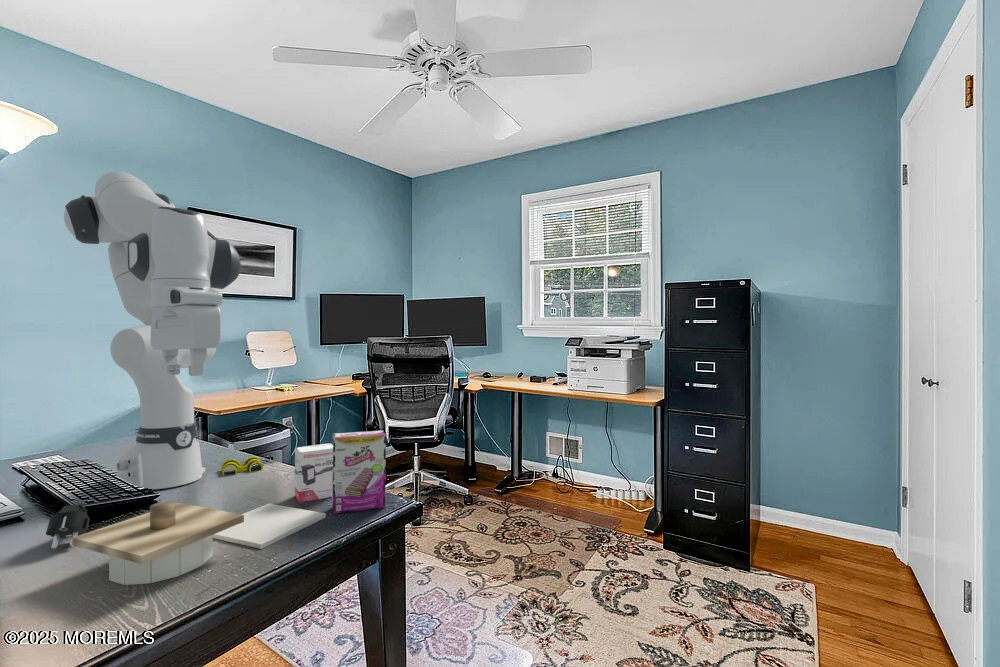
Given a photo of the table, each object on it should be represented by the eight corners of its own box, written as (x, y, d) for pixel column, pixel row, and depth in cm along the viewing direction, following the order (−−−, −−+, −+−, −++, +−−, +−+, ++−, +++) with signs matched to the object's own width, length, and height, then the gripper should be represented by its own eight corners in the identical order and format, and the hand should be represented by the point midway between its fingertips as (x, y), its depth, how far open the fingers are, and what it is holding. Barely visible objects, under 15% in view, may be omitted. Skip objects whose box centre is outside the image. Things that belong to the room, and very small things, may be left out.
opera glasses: (222, 483, 125) (222, 463, 125) (220, 478, 130) (220, 459, 130) (263, 476, 131) (263, 458, 131) (260, 472, 135) (260, 454, 135)
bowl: (89, 574, 77) (89, 542, 77) (176, 539, 90) (176, 512, 90) (145, 591, 72) (145, 558, 72) (230, 552, 85) (230, 523, 85)
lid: (72, 545, 76) (72, 515, 76) (179, 509, 92) (179, 484, 92) (141, 564, 70) (141, 531, 70) (243, 521, 86) (243, 495, 86)
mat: (199, 535, 92) (199, 530, 92) (268, 507, 107) (268, 503, 107) (261, 548, 86) (261, 544, 86) (325, 517, 101) (325, 513, 101)
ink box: (299, 504, 109) (298, 451, 109) (294, 497, 113) (294, 447, 113) (337, 496, 114) (337, 446, 114) (332, 491, 118) (331, 442, 118)
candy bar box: (332, 515, 102) (332, 437, 102) (332, 507, 107) (331, 433, 107) (386, 508, 106) (386, 433, 106) (384, 501, 111) (383, 429, 111)
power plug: (106, 520, 98) (88, 497, 89) (97, 559, 93) (78, 539, 85) (70, 525, 95) (48, 502, 87) (60, 565, 91) (36, 545, 82)
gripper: (139, 301, 90) (141, 375, 90) (187, 292, 78) (189, 377, 78) (177, 302, 95) (179, 372, 95) (227, 294, 83) (230, 374, 83)
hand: (184, 375), depth 86 cm, fingers open, 8 cm apart
